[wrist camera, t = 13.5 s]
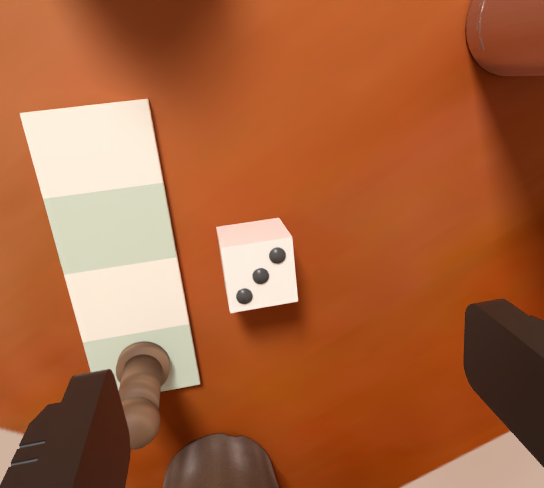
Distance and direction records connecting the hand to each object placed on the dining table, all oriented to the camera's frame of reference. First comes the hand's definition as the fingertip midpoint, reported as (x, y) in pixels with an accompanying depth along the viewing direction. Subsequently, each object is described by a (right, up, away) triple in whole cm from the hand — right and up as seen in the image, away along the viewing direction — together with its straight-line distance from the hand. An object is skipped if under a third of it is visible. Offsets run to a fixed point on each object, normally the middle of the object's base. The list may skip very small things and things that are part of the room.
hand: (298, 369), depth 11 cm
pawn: (-13, -9, +36) cm, 39 cm away
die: (-3, +2, +35) cm, 35 cm away
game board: (-14, +1, +33) cm, 36 cm away
